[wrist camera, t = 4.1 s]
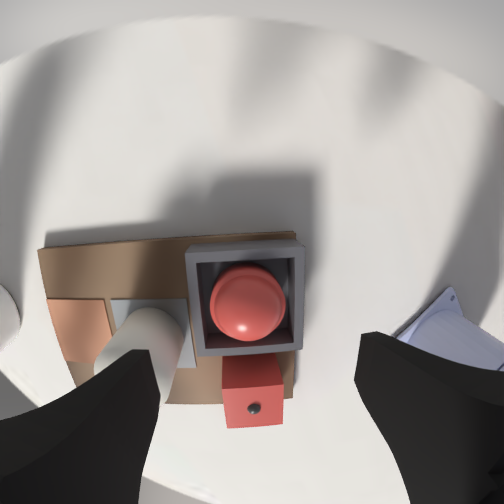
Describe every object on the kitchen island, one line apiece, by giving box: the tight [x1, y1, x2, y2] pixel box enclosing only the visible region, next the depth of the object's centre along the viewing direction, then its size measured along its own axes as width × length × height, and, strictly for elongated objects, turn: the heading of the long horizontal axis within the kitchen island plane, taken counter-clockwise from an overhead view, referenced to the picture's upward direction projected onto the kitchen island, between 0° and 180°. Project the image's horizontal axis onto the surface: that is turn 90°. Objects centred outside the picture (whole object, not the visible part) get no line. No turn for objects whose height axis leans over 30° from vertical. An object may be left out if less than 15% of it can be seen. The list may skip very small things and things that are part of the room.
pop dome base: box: [185, 239, 305, 357], centre depth 15 cm, size 6×6×2 cm
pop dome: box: [210, 262, 286, 341], centre depth 14 cm, size 4×4×3 cm
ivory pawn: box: [94, 307, 184, 407], centre depth 14 cm, size 4×4×5 cm
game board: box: [37, 231, 296, 404], centre depth 17 cm, size 17×12×1 cm
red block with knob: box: [222, 353, 284, 428], centre depth 16 cm, size 3×3×4 cm
